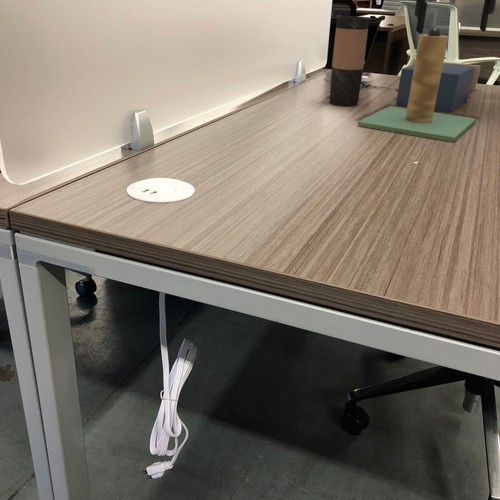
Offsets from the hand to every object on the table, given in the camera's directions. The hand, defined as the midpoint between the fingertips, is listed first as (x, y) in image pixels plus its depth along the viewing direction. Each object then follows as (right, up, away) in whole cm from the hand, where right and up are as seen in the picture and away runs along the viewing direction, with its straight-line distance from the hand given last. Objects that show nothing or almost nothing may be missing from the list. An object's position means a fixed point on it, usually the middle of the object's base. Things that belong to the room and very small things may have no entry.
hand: (449, 31), depth 112 cm
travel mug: (-21, -12, +16) cm, 29 cm away
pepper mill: (-8, -20, -2) cm, 22 cm away
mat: (-8, -21, -2) cm, 23 cm away
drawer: (+11, -4, +30) cm, 32 cm away
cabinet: (+3, -10, +19) cm, 22 cm away
